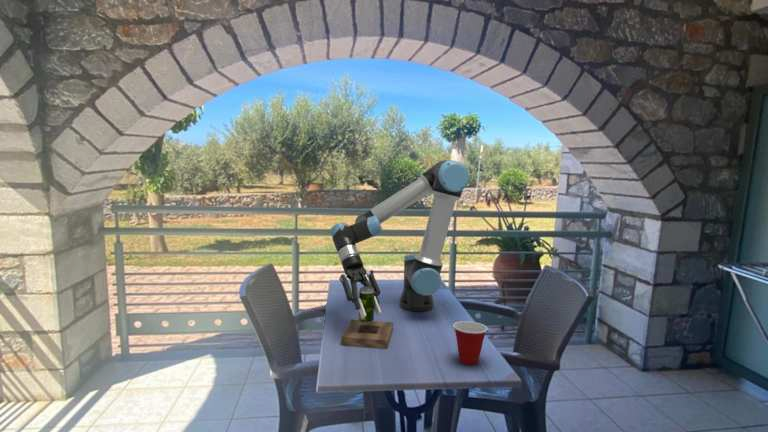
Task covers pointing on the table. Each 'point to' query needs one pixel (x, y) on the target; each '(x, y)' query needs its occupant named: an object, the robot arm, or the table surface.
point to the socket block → (367, 334)
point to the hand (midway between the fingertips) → (371, 315)
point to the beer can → (367, 304)
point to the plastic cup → (469, 341)
